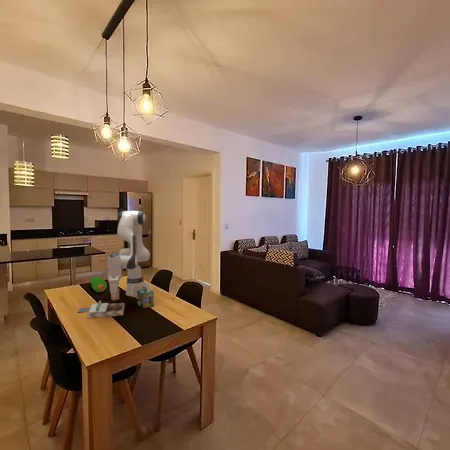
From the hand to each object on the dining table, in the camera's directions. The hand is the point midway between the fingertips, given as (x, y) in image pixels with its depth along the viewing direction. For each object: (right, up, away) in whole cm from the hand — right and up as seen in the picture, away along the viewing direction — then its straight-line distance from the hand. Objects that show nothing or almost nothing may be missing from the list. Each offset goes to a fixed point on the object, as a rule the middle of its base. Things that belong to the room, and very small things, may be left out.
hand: (115, 295), depth 188 cm
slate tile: (-23, -12, +2) cm, 26 cm away
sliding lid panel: (-10, -9, -3) cm, 14 cm away
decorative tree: (-34, -8, +47) cm, 59 cm away
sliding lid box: (-5, -12, -1) cm, 13 cm away
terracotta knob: (0, -3, 0) cm, 3 cm away
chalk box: (+17, -12, +14) cm, 25 cm away
